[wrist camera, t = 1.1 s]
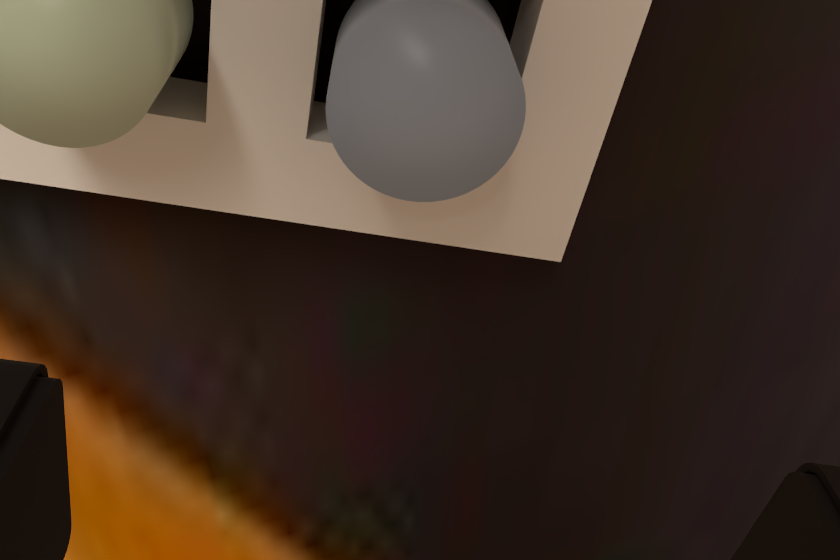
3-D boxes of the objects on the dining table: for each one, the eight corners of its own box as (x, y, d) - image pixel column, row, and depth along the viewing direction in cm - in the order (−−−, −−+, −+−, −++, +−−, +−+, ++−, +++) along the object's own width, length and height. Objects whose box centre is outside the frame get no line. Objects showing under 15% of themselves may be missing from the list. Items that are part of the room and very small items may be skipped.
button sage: (-4, -115, 20) (-79, -84, 17) (196, -76, 21) (160, -39, 18) (14, 72, 23) (-48, 130, 20) (190, 102, 24) (158, 162, 21)
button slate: (347, -47, 22) (339, -5, 18) (526, -12, 22) (550, 34, 19) (324, 124, 24) (314, 186, 21) (484, 150, 25) (498, 215, 22)
